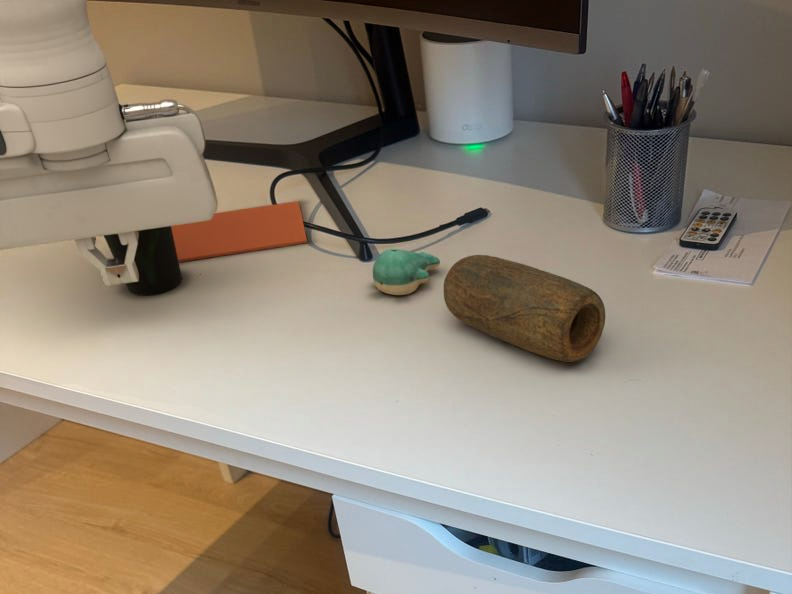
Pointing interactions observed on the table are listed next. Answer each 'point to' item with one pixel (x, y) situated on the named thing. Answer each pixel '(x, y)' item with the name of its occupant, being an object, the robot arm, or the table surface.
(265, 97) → the table surface
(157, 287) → the cup
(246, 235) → the flat orange rectangular block
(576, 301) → the wooden vase
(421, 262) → the whale figurine
